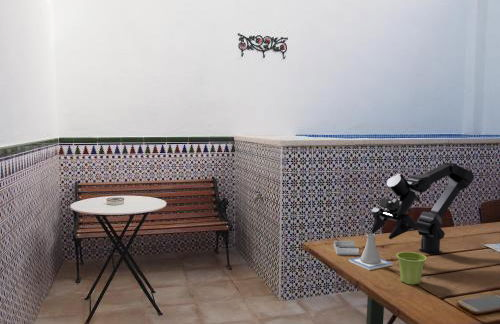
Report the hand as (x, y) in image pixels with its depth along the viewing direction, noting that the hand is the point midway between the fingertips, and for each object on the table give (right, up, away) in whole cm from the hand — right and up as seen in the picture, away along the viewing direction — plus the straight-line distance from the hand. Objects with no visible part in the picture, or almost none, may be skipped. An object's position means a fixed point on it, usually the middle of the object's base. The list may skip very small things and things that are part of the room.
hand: (380, 235), depth 174 cm
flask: (-4, -10, -1) cm, 10 cm away
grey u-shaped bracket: (-9, -8, +15) cm, 19 cm away
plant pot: (+4, -12, -20) cm, 23 cm away
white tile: (-4, -10, -1) cm, 11 cm away
